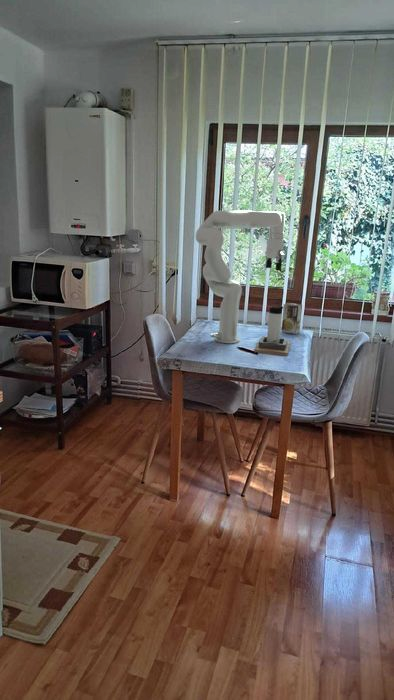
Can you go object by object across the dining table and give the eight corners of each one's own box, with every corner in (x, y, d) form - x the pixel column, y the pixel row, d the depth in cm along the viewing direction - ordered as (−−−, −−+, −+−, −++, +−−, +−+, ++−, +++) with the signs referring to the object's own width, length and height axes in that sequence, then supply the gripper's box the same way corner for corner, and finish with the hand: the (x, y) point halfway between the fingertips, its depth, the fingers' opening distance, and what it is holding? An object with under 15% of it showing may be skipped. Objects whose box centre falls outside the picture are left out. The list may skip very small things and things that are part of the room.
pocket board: (287, 355, 233) (288, 347, 232) (254, 352, 236) (254, 344, 235) (290, 344, 253) (291, 336, 252) (259, 341, 257) (260, 333, 256)
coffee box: (300, 332, 280) (302, 304, 276) (295, 334, 275) (298, 306, 271) (285, 329, 285) (287, 302, 280) (280, 331, 280) (283, 303, 275)
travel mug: (276, 347, 240) (280, 307, 235) (264, 345, 243) (267, 306, 238) (281, 345, 245) (285, 306, 240) (269, 343, 248) (272, 304, 243)
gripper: (261, 235, 263) (259, 267, 268) (278, 237, 248) (275, 271, 252) (273, 235, 266) (270, 267, 270) (291, 237, 250) (288, 271, 255)
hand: (273, 269), depth 261 cm, fingers open, 9 cm apart
